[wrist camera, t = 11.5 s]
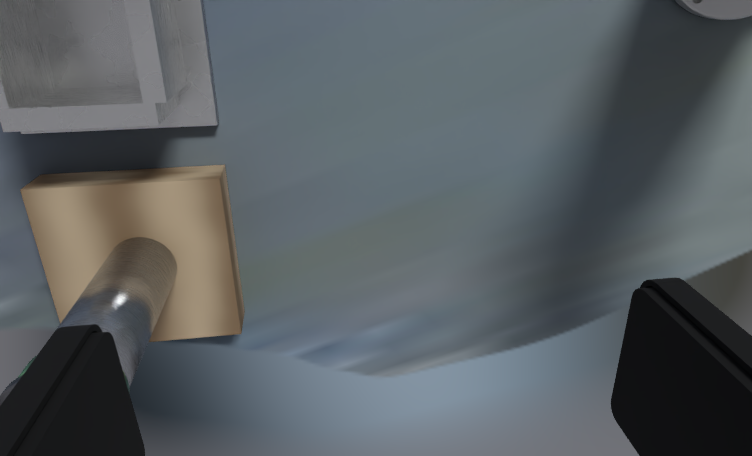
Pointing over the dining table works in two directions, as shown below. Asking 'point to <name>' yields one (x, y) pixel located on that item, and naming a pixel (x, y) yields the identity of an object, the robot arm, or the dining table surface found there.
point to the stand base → (104, 65)
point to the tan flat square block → (149, 220)
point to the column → (124, 300)
